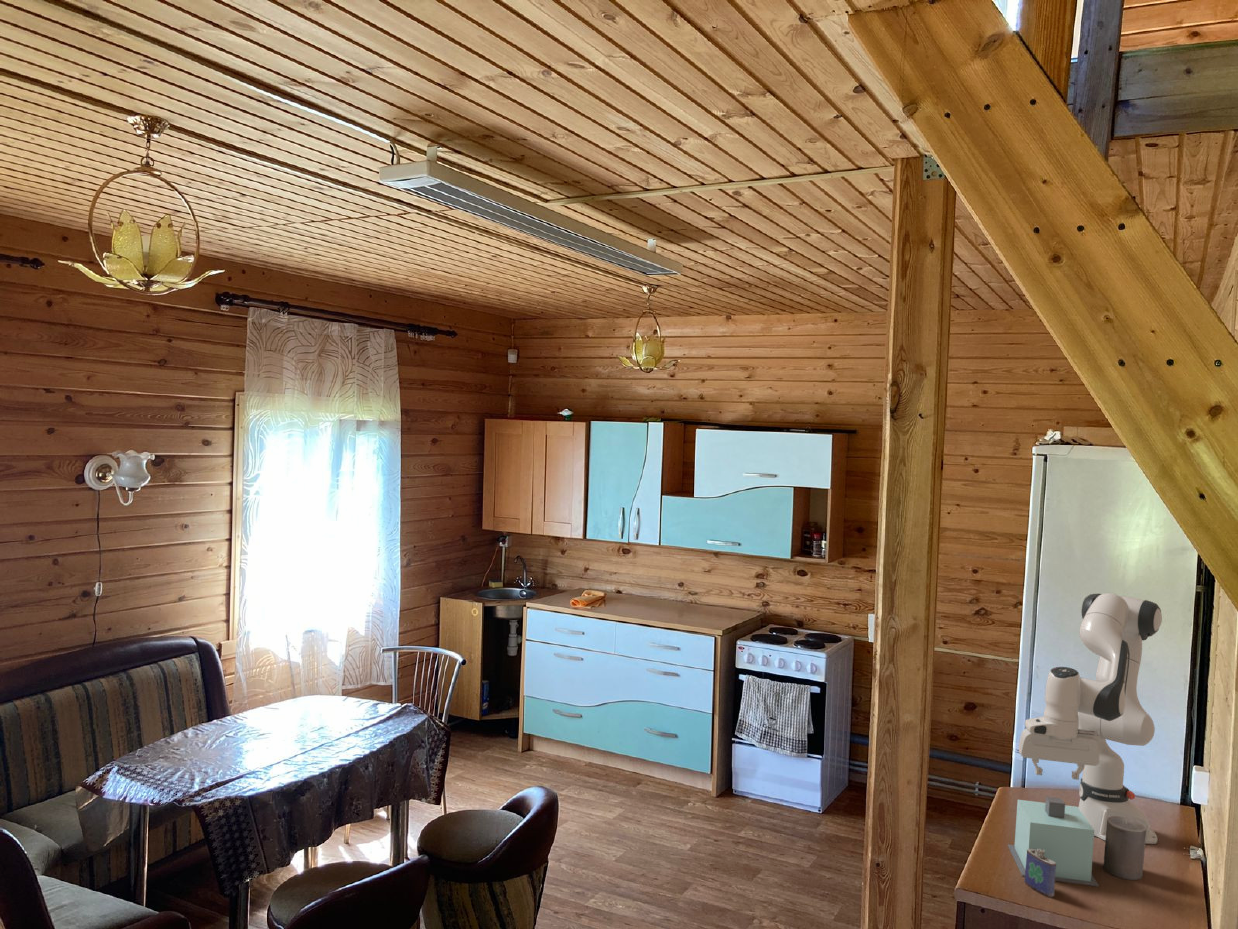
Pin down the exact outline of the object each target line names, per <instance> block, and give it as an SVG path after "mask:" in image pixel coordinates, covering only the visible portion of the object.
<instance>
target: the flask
mask: <svg viewBox="0 0 1238 929" xmlns="http://www.w3.org/2000/svg"><path fill="white" fill-rule="evenodd" d="M1037 851H1039V852H1037ZM1037 851H1036V849H1028V850H1027V857H1026V869H1025V877H1024V882H1023V883H1024V884H1025V885H1027V887H1028V888H1030V889H1032V890H1034V891H1036V892H1037V893H1039V894H1041V895H1042V896H1044V897H1047V898H1051V899H1052V898H1054V897H1055V883H1056V881H1055V872H1056V862H1054V861H1052V860H1050V859H1048V858H1046V857H1044V856H1043V855H1044V853H1045V851H1044V850H1043V851H1042V850H1041V849H1037Z"/></svg>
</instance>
